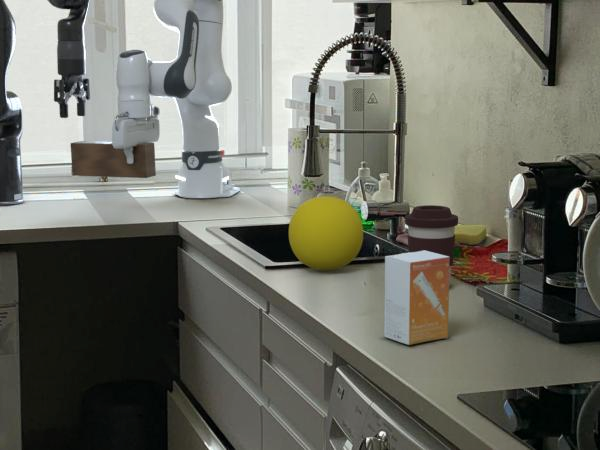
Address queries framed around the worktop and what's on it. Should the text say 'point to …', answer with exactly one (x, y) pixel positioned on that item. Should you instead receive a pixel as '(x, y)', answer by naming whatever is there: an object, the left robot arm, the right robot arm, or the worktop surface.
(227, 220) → the worktop surface
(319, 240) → the toy
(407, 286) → the small box
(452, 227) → the coffee cup
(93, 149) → the bar
